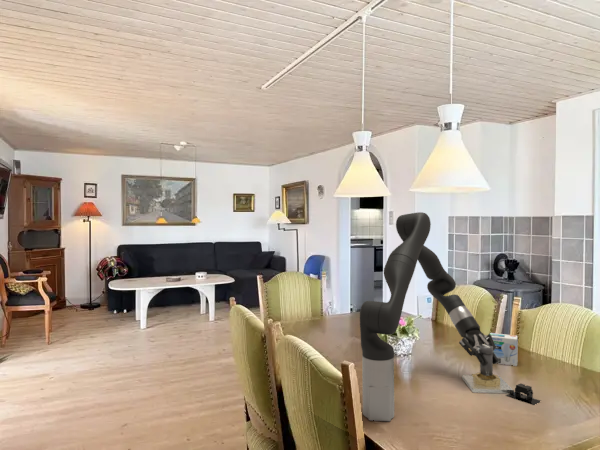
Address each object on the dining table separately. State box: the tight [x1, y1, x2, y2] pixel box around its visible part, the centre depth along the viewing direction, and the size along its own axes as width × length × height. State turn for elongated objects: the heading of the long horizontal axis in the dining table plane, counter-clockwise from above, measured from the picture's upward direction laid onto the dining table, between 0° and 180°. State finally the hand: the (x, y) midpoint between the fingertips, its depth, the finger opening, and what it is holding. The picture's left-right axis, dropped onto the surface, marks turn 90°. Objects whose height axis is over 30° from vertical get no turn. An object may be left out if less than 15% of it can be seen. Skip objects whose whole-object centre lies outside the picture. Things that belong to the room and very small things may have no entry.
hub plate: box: [461, 371, 515, 395], centre depth 148 cm, size 13×13×4 cm
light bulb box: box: [489, 332, 519, 367], centre depth 174 cm, size 11×7×11 cm, turn 62°
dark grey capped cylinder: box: [479, 343, 494, 376], centre depth 149 cm, size 4×4×10 cm
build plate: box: [504, 383, 541, 406], centre depth 137 cm, size 12×7×5 cm, turn 34°
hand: (490, 363), depth 147 cm, fingers closed on dark grey capped cylinder, 4 cm apart
